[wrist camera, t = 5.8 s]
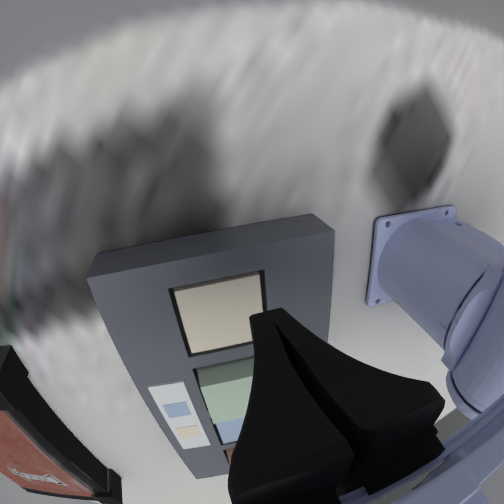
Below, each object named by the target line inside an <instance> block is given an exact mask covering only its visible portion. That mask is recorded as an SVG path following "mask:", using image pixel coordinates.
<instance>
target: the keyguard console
mask: <svg viewBox="0 0 504 504" xmlns="http://www.w3.org/2000/svg"><path fill="white" fill-rule="evenodd" d="M334 232H335V230H333V229H332V228H331V227H329V226H328V225H327V224H326V223H324V222H323V221H322V220H320V219H319V218H318V217H316V216H315V215H314V214H308V215H302V216H296V217H290V218H284V219H278V220H272V221H266V222H260V223H255V224H249V225H243V226H238V227H232V228H227V229H221V230H216V231H210V232H205V233H200V234H194V235H189V236H184V237H179V238H173V239H168V240H163V241H158V242H153V243H148V244H143V245H138V246H133V247H128V248H123V249H119V250H114V251H109V252H104V253H100V254H97V255H96V257H95V260H94V262H93V264H92V266H91V269H90V271H89V273H88V276H87V278H86V279H87V281H88V284H89V286H90V289H91V292H92V294H93V297H94V299H95V302H96V304H97V306H98V309H99V311H100V314H101V316H102V318H103V320H104V323H105V325H106V327H107V329H108V332H109V334H110V336H111V338H112V340H113V342H114V345H115V347H116V349H117V351H118V353H119V355H120V357H121V359H122V361H123V363H124V365H125V367H126V369H127V370H128V372H129V374H130V376H131V378H132V380H133V382H134V384H135V385H136V387H137V389H138V391H139V393H140V394H141V396H142V398H143V400H144V401H145V403H146V405H147V406H148V408H149V410H150V411H151V413H152V415H153V416H154V418H155V420H156V421H157V423H158V424H159V426H160V427H161V429H162V431H163V432H164V434H165V435H166V437H167V438H168V440H169V441H170V443H171V444H172V446H173V447H174V449H175V450H176V452H177V453H178V454H179V456H180V457H181V459H182V460H183V461H184V463H185V464H186V466H187V467H188V468H189V470H190V471H191V472H192V474H193V475H194V476H195V478H196V479H201V478H207V477H213V476H219V475H224V474H229V468H230V463H229V460H228V456H227V452H226V449H231V448H235V445H236V442H237V441H234V442H229V443H224V444H223V441H222V439H221V436H220V433H219V431H218V428H217V426H216V424H213V421H212V418H211V416H210V413H209V410H208V408H207V405H206V402H205V399H204V397H203V394H202V391H201V388H200V383H199V377H198V371H197V368H199V367H204V366H209V365H214V364H219V363H223V362H228V361H233V360H237V359H241V358H246V357H250V356H254V348H253V342H252V341H248V342H244V343H240V344H235V345H231V346H226V347H221V348H217V349H212V350H207V351H202V352H197V353H192V352H191V349H190V346H189V342H188V339H187V336H186V332H185V329H184V325H183V322H182V318H181V315H180V311H179V308H178V304H177V300H176V297H175V293H174V287H179V286H184V285H189V284H194V283H199V282H204V281H209V280H214V279H219V278H224V277H229V276H234V275H239V274H244V273H249V272H254V271H258V273H259V275H260V286H261V298H262V309H263V312H265V311H269V310H273V309H277V308H280V307H282V308H283V309H285V310H286V311H287V312H288V313H289V314H290V315H291V316H292V317H294V318H295V319H296V320H297V321H298V322H300V323H301V324H302V325H303V326H305V327H306V328H307V329H308V330H310V331H311V332H312V333H314V334H315V335H316V336H318V337H319V338H321V339H322V340H324V341H325V342H326V343H327V342H328V332H329V320H330V308H331V294H332V279H333V259H334Z"/></svg>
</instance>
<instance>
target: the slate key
mask: <svg viewBox="0 0 504 504" xmlns="http://www.w3.org/2000/svg"><path fill="white" fill-rule="evenodd" d="M244 418H245V417H244ZM244 418H239V419H235V420H230V421H226V422H221V423H216V426H217V428H218V431H219V433H220V436H221V439H222V441H223V444H224V443H229V442H234V441H237V440H238V437H239V434H240V431H241V428H242V425H243V421H244Z"/></svg>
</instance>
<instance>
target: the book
mask: <svg viewBox="0 0 504 504" xmlns="http://www.w3.org/2000/svg"><path fill="white" fill-rule="evenodd" d="M28 373H29V372H28V371H27V369H26V368H25V366H24V365H23V363H22V362H21V360H20V359H19V357H18V355H17V354H16V352H15V351H14V349H13V347H12V346H11V345H9V346H0V472H1V473H3V474H4V475H5V476H7V477H8V478H9V479H11V480H12V481H13V482H15V483H16V484H18V485H19V486H20V487H22V488H23V489H25V490H26V491H28V492H32V493H37V494H43V495H49V496H56V497H63V498H72V499H81V500H94V501H99V502H100V503H102V504H123V503H122V485H121V477H120V476H119V475H118V474H117V473H116V472H114V471H113V470H112V469H107V468H106V467H105V466H104V465H103V464H102V463H101V462H100V461H99V460H98V459H97V458H96V457H95V456H94V455H93V454H92V453H91V452H90V451H89V450H88V449H87V448H86V447H85V446H84V445H83V444H82V443H81V442H80V441H79V440H78V439H77V438H76V437H75V436H74V435H73V433H72V432H71V431H70V430H69V429H68V428H67V427H66V426H65V425H64V423H63V422H62V421H61V420H60V419H59V418H58V416H57V415H56V414H55V413H54V412H53V410H52V409H51V408H50V407H49V405H48V404H47V403H46V402H45V400H44V399H43V398H42V396H41V395H40V394H39V393H38V391H37V390H36V388H35V387H34V386H33V384H32V383H31V382H30V380H29V379H28V377H27V376H28Z"/></svg>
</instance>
